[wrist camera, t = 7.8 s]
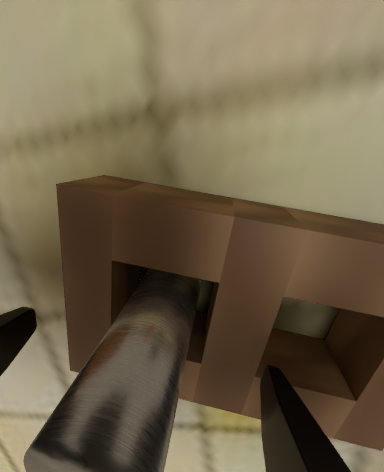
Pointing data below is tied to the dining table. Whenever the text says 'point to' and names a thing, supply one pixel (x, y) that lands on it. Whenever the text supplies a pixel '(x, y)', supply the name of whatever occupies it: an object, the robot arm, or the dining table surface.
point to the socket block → (235, 293)
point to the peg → (125, 387)
